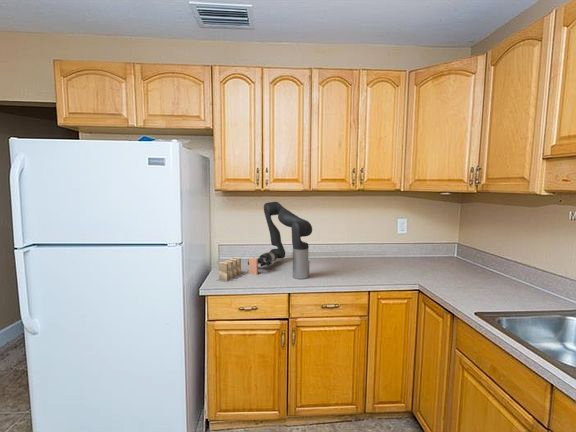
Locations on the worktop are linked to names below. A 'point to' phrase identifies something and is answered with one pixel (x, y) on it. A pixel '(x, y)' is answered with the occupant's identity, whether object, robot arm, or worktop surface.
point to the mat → (234, 277)
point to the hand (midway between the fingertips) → (254, 264)
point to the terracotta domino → (253, 266)
